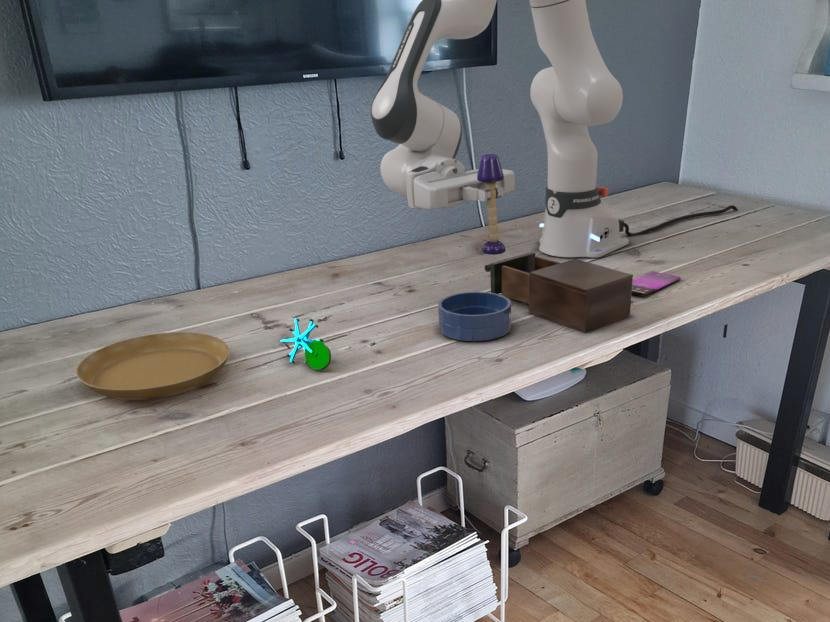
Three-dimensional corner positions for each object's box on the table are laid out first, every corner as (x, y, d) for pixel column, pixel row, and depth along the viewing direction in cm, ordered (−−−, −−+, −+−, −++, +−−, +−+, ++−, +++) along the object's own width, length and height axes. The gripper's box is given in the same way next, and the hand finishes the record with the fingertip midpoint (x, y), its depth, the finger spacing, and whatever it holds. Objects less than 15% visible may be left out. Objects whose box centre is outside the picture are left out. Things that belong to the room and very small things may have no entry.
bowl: (478, 312, 170) (477, 287, 168) (525, 329, 162) (525, 303, 159) (424, 329, 163) (423, 303, 160) (471, 348, 154) (470, 321, 152)
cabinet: (528, 313, 169) (529, 272, 165) (573, 298, 176) (575, 258, 172) (584, 333, 160) (586, 289, 156) (629, 316, 167) (633, 274, 163)
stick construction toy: (270, 345, 151) (294, 307, 149) (297, 355, 157) (320, 319, 155) (310, 382, 145) (335, 343, 144) (336, 391, 151) (361, 354, 150)
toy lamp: (485, 256, 156) (483, 158, 148) (474, 249, 160) (472, 154, 152) (509, 252, 158) (508, 156, 149) (498, 246, 162) (497, 151, 153)
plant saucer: (53, 407, 136) (47, 388, 134) (116, 348, 157) (112, 331, 155) (206, 408, 135) (202, 389, 133) (249, 349, 155) (246, 331, 154)
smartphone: (613, 291, 179) (613, 286, 179) (651, 273, 189) (651, 269, 189) (644, 298, 175) (644, 293, 175) (681, 279, 185) (681, 275, 185)
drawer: (476, 289, 179) (476, 258, 176) (516, 277, 186) (517, 247, 183) (537, 310, 168) (538, 278, 165) (578, 296, 174) (579, 265, 171)
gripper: (486, 190, 170) (536, 202, 161) (401, 209, 158) (450, 223, 149) (485, 156, 166) (536, 166, 157) (399, 173, 155) (449, 185, 146)
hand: (494, 194), depth 153 cm, fingers closed on toy lamp
